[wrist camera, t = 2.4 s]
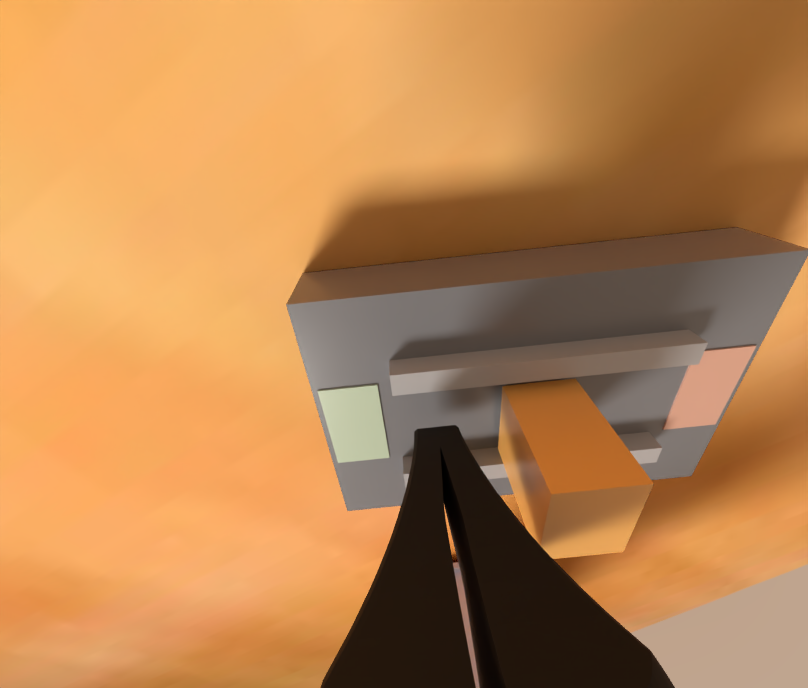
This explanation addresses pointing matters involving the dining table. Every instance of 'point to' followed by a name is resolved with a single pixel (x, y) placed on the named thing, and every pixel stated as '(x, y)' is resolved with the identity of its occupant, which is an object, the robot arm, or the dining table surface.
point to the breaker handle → (569, 470)
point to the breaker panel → (536, 346)
